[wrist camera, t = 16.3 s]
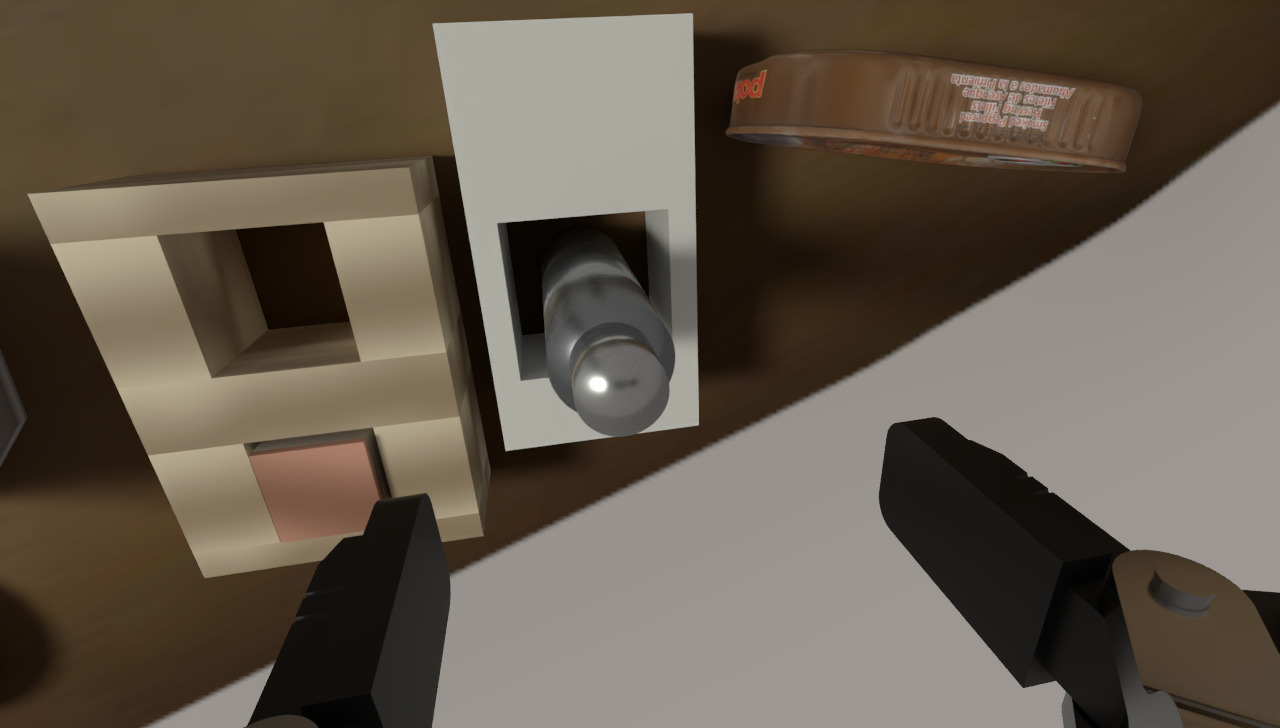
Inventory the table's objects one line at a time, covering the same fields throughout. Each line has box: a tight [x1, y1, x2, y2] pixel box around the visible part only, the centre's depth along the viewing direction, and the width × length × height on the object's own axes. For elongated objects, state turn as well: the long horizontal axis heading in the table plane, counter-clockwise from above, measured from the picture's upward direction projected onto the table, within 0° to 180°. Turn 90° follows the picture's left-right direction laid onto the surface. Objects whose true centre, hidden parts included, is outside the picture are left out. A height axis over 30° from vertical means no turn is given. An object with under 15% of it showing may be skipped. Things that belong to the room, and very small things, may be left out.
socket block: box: [28, 156, 491, 578], centre depth 24 cm, size 15×11×5 cm
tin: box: [726, 49, 1143, 173], centre depth 22 cm, size 15×3×8 cm, turn 84°
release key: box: [249, 428, 392, 543], centre depth 25 cm, size 4×4×4 cm
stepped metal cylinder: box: [541, 226, 675, 437], centre depth 21 cm, size 4×4×13 cm
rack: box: [433, 13, 699, 451], centre depth 24 cm, size 15×8×5 cm, turn 3°
